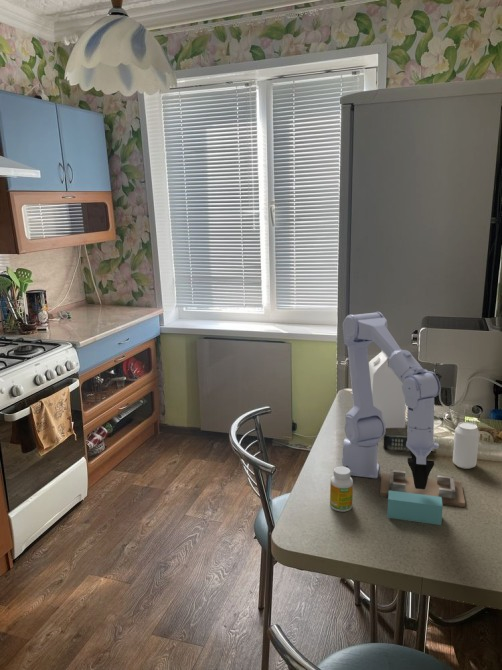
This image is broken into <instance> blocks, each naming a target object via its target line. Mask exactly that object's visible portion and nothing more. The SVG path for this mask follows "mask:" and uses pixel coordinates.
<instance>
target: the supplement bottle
mask: <svg viewBox="0 0 502 670" xmlns="http://www.w3.org/2000/svg"><path fill="white" fill-rule="evenodd" d="M329 486H330V488H329V489H330V491H329V492H330V493H329V494H330V495H329V503H330V504H329V506H330V507H331V509H333V510H334V511H338V512H341V513H342V512H343V513H344V512H348V511H351V509H352V507H353V494H354V480H353V478H352V477H351V475H350V469H349V468H347V467H344V466H343V465H341V466H336V467H334V469H333V475H332V476H331V479H330V485H329Z"/></svg>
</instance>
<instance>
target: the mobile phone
mask: <svg viewBox="0 0 502 670" xmlns="http://www.w3.org/2000/svg"><path fill="white" fill-rule="evenodd" d="M406 442H407V434H401V433H387V434H386V433H385V435H384V436H383V449H384V450H387V451H394V452H405V453H410V451H409V449H408V448H407V446H406Z"/></svg>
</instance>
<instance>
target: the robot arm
mask: <svg viewBox="0 0 502 670" xmlns="http://www.w3.org/2000/svg"><path fill="white" fill-rule="evenodd" d="M342 334H343V335H342V336H343V344H344V345H345V346H347V347H346V348H347V355H348V364H349V373H350V375H349V376H350V382H351V393H352V401H353V406H352V407H351V408H350V410H348V412H346V413H345V425H344V433H345V436H346V437H345V438H344V439H343V443H342V444H343V447H342V458H341V459H342V460H341V465H342V466H344V467H347V468H349V469H350V476H354V477H360V478H361V477H362V478H368V479H369V478H370V479H378V477H379V467H380V464H379V463H378V457H379V455H378V453H379V443H380V442H382V441H381V438H384V435H386V429H387V428H386V426H385V422H384V420H383V417H382V412H381V411H380V410H379V409H377V408H376V407H374V406H373V398H372V389H371V379H370V370H369V362H370V361H369V354H368V353H369V352H368V349H369V346H370V345H371V343H374V344H375V345H376V346H378V348H379V349H380V350H381V351H383V352H384V353H385V354H386V355H387V356H388V357H389V358H390V359H389V366H390V368H391V369H392V370H393V372H394V373H395V374H396V376H397V377H398V378H399V379H400V381H401V382H402V383H403V385H402V390H403V393H404V396H405V407H407V419H406V420H407V422H406V423H407V427H406V428H407V430H406V431H407V434H406V435H407V442H406V446H407V448H408V449H409V451H410V452H409V454H410V456H411V457H407V463H408V466H409V468H410V470H411V474H412V477H413V479H414V485H415V488H416V489H425V488H426V484H427V480H428V478H429V475H430V473H431V471H432V469H433V468H434V466H435V461H434V460H428V458H429V455H430V454H431V453H432V452H431V451H432V450H436V449H439V447H440V445H439V444H440V443H438V442H434V436H435V435H434V431H435V429H434V426H435V425H434V424H435V398H436V397H437V396H439V395H440V392H441V382H440V380H439V379H440V378H438V376H437V375H436V374H437V373H435V372H433V371H429V370H428V369H426V368H423V367H422V365H421V364H420V363H419V361H417V359H416V358H415V357H414V356H413V354H412V352H410V351H409V350H407V349H402V348H401V347H400V346H399V344H398V343H397V342H396V339H395V338H394V337H393V335H392V334H391V332H390V331H389V329H388V320H387V318H386V317H385V316H384V314H383V313H382V312H380V311H375V312H370V313H369V312H368V313H358V314H348V315H347V316H346V317H344V320H343V322H342Z"/></svg>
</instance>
